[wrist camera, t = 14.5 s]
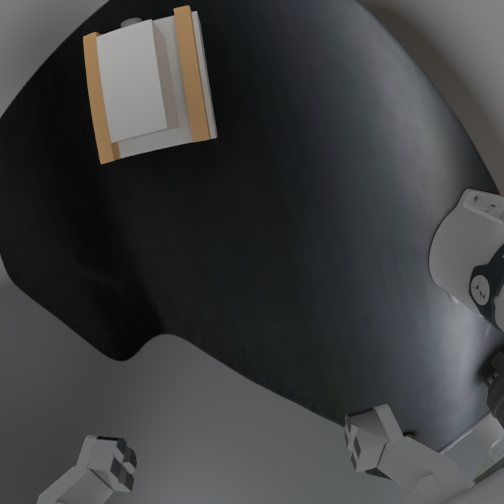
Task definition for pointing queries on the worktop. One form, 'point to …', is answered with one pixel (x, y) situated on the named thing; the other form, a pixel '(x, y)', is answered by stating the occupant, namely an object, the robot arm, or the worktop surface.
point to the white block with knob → (136, 81)
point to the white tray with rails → (184, 87)
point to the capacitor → (496, 388)
